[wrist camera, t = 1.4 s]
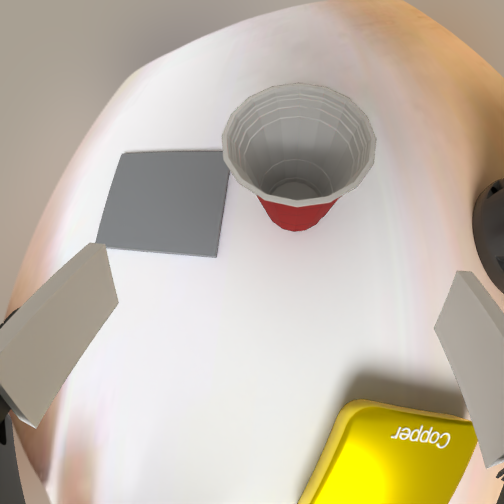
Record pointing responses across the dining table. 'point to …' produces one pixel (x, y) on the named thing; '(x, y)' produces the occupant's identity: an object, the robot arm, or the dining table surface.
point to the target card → (166, 203)
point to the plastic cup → (298, 150)
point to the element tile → (391, 456)
